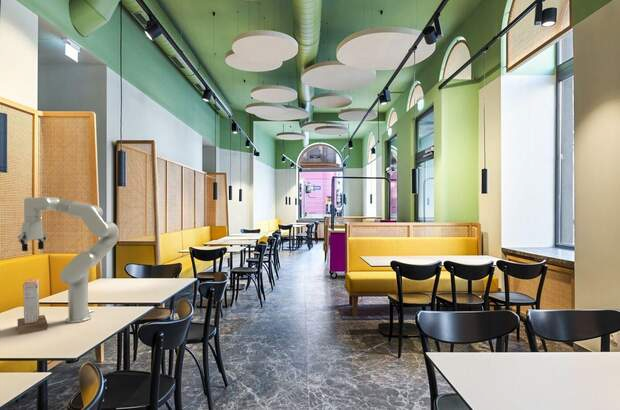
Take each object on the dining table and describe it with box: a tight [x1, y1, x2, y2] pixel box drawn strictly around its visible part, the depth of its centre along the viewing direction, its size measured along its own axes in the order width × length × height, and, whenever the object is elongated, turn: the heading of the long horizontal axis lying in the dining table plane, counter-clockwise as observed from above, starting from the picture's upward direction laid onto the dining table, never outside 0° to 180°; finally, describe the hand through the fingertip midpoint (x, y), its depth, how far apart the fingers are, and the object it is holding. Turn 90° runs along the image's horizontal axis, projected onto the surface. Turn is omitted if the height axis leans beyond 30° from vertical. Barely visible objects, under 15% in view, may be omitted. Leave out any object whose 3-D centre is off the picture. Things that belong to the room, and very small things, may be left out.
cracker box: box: [22, 278, 40, 324], centre depth 206 cm, size 14×6×21 cm, turn 31°
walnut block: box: [17, 314, 48, 335], centre depth 206 cm, size 18×12×4 cm, turn 38°
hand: (33, 250), depth 217 cm, fingers open, 9 cm apart
